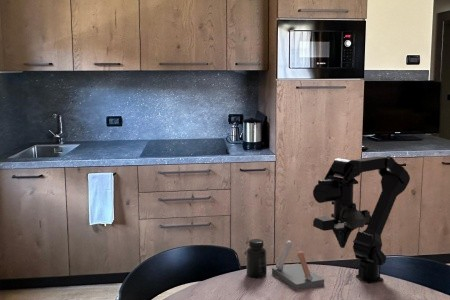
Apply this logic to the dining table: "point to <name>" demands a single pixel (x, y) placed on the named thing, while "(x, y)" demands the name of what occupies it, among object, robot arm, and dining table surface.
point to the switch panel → (297, 277)
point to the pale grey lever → (284, 255)
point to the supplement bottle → (256, 259)
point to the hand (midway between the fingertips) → (342, 247)
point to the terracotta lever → (304, 266)
